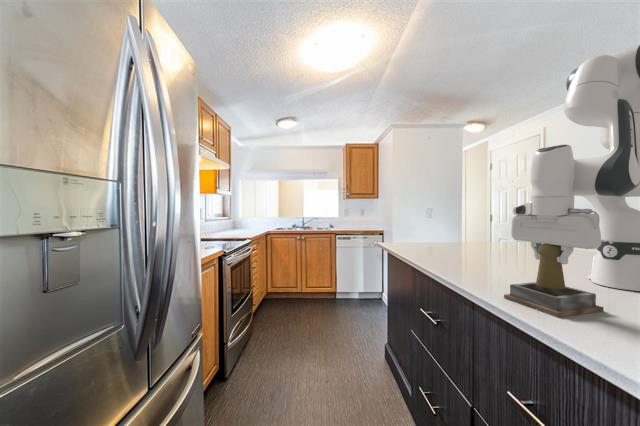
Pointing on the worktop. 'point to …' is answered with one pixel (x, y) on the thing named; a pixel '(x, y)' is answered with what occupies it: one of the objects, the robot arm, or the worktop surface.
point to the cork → (550, 267)
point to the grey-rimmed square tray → (554, 299)
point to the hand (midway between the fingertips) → (550, 261)
